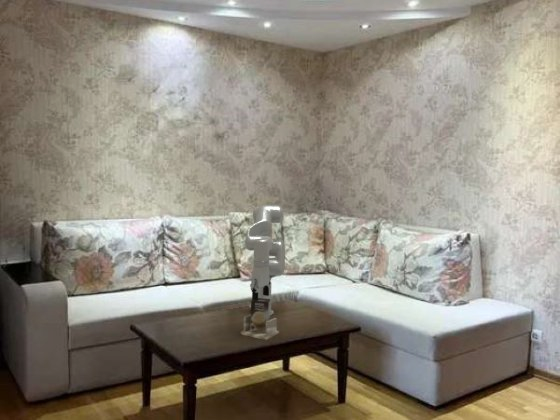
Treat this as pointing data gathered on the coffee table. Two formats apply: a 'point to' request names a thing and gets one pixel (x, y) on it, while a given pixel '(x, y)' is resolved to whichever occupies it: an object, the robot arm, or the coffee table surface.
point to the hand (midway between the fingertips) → (260, 297)
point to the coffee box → (259, 315)
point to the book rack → (270, 332)
